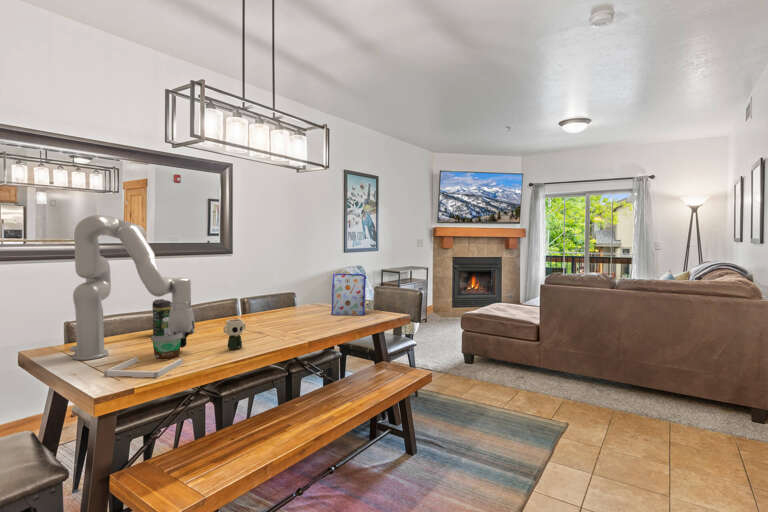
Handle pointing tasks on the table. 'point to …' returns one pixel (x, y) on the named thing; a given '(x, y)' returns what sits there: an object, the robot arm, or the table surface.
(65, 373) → the table surface
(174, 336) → the food container
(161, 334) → the coffee jar
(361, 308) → the lunch bag
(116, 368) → the grey u-shaped frame
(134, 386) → the table surface
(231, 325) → the cream and green figurine
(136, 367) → the table surface
